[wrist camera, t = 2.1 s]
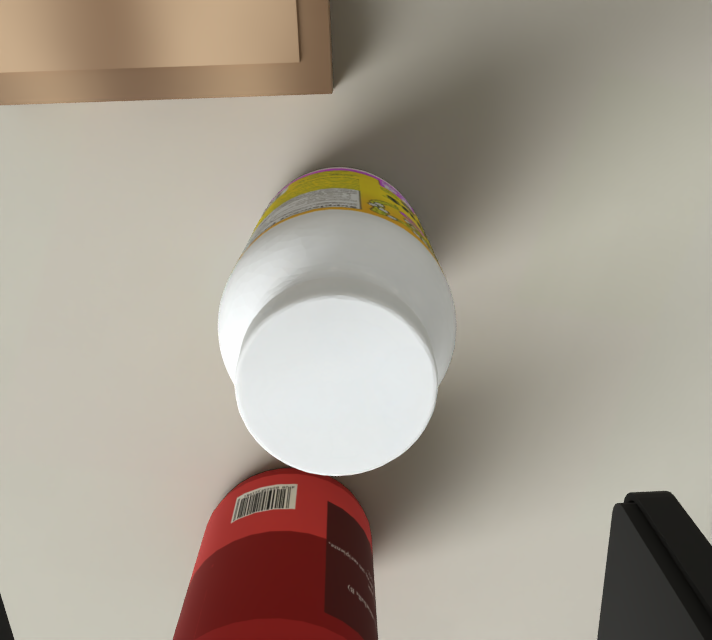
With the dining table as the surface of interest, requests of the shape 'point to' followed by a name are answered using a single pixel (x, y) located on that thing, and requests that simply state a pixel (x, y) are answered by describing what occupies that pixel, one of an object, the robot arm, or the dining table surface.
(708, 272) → the dining table surface
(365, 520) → the canned food
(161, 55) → the bronze plinth
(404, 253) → the supplement bottle
